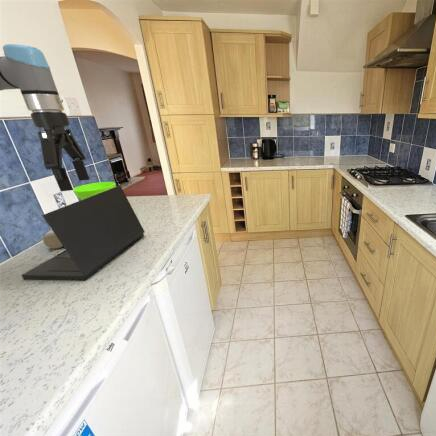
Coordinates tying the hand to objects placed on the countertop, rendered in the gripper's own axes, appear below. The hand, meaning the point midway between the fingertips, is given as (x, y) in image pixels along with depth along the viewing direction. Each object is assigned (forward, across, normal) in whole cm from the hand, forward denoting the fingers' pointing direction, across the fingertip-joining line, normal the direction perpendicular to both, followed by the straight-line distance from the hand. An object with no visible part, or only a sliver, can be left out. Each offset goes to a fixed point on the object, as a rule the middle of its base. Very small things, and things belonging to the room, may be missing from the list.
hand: (76, 185), depth 77 cm
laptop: (+28, +5, +5) cm, 28 cm away
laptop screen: (+15, +2, -2) cm, 16 cm away
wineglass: (+28, +40, +9) cm, 49 cm away
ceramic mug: (+28, +20, +18) cm, 39 cm away
